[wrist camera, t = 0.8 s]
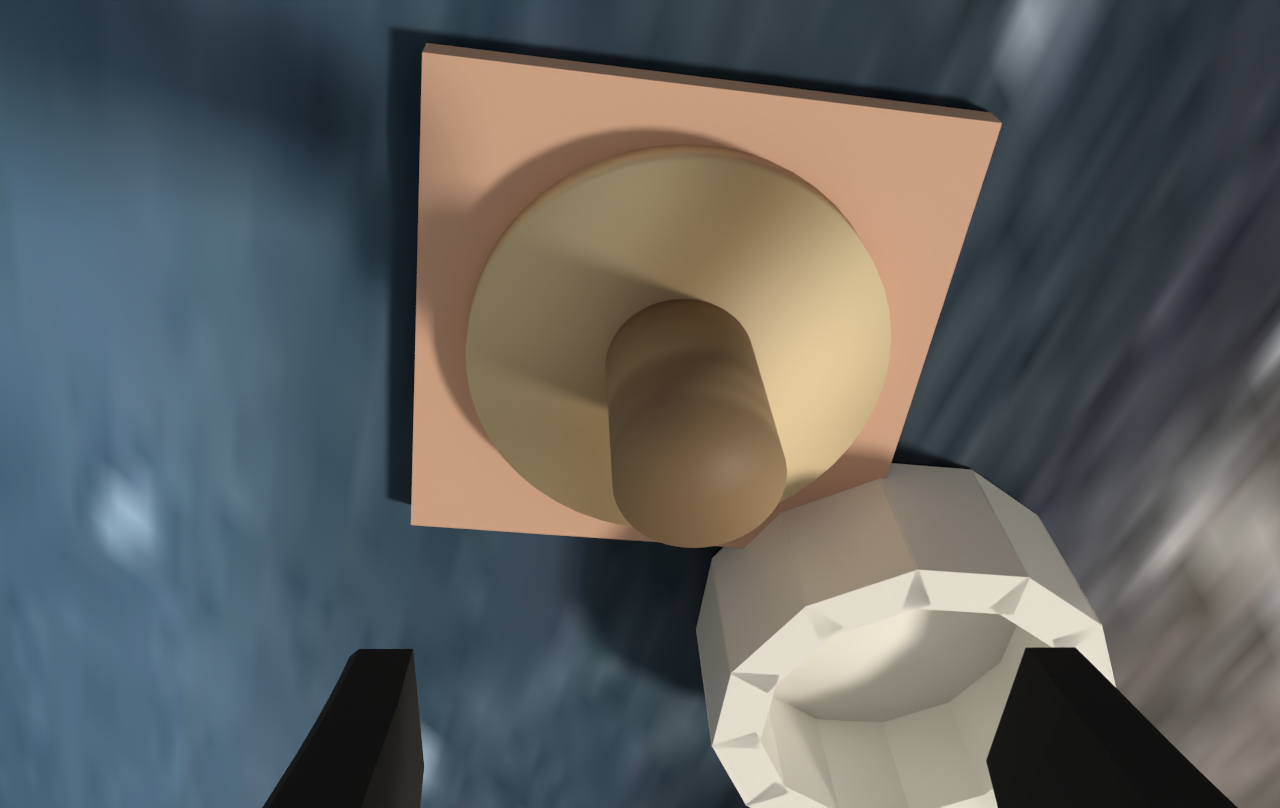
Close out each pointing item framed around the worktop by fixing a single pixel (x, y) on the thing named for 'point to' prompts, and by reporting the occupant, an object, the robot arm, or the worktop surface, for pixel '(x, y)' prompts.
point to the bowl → (882, 641)
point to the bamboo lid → (677, 341)
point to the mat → (631, 120)
